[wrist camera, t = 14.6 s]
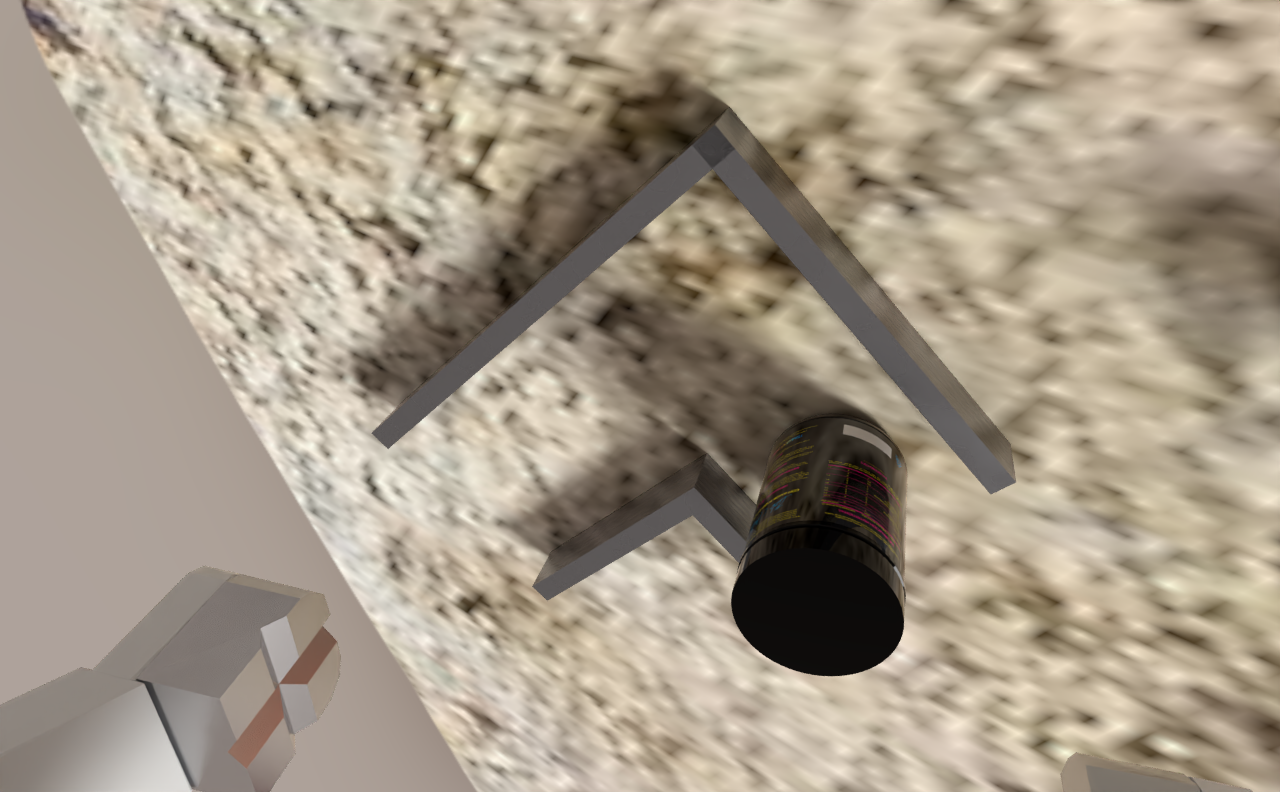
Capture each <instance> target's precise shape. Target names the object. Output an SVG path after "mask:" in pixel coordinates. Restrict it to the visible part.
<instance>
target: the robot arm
mask: <svg viewBox="0 0 1280 792" xmlns="http://www.w3.org/2000/svg"><path fill="white" fill-rule="evenodd" d="M329 616H330V612H329V609H328V606H327V603H326V599H325V596H324V595H323V594H320V593H316V592H312V591H308V590H304V589H300V588H296V587H292V586H288V585H284V584H280V583H275V582H271V581H267V580H263V579H259V578H255V577H251V576H247V575H242V574H238V573H234V572H229V571H224V570H220V569H216V568H211V567H207V566H203V567H200V568H198V569H196V570H194V571H192V572H189V573H188V574H187V575H186V576H185V577H184V578H183V579H182V580H181V581H180V582H179V583H178V584H177V585H176V586H175V587H174V588H173V589H172V590H171V591H170V592H169V593H168V594H167V595H166V596H165V597H164V598H163V599H162V600H161V601H160V602H159V603H158V604H157V605H156V606H155V607H154V608H153V609H152V610H151V611H150V612H149V613H148V614H147V615H146V616H145V617H144V618H143V619H142V620H141V621H140V622H139V623H138V624H137V625H136V626H135V627H134V628H133V629H132V630H131V631H130V632H129V633H128V634H127V635H126V636H125V637H124V638H123V639H122V640H121V641H120V642H119V643H118V644H117V645H116V647H115V648H114V649H113V650H112V651H111V652H110V653H109V654H108V655H107V656H106V657H105V658H104V659H103V660H102V661H101V662H100V663H99V664H98V665H97V666H96V667H95V668H94V669H93V670H91V669H86V668H79V669H77V670H74V671H72V672H70V673H68V674H66V675H64V676H61V677H59V678H57V679H55V680H53V681H51V682H48V683H46V684H44V685H42V686H40V687H38V688H36V689H33V690H31V691H29V692H27V693H25V694H22V695H20V696H18V697H16V698H14V699H12V700H10V701H7V702H5V703H3V704H1V705H0V792H193V791H192V789H194V790H199V791H202V792H270V791H271V789H272V788H273V786H274V785H275V783H276V782H277V780H278V779H279V778H280V776H281V775H282V773H283V772H284V770H285V769H286V767H287V765H288V764H289V763H290V761H291V760H292V758H293V757H294V755H295V734H296V733H298V732H299V731H301V730H303V729H305V728H306V727H308V726H310V725H311V724H313V723H315V722H317V721H318V719H319V718H320V716H321V715H322V713H323V712H324V710H325V708H326V707H327V705H328V703H329V702H330V701H331V699H332V696H333V693H334V690H335V687H336V684H337V681H338V679H339V675H340V661H341V656H340V651H339V647H338V643H337V641H336V640H335V639H334V638H333V636H332V635H331V634H330V633H329V632H328V631H327V630H326V629H325V628H324V627H323V624H324V623H325V621H326V620H327V619H328V617H329ZM1061 781H1062V787H1063V792H1252V790H1250V789H1246V788H1242V787H1237V786H1233V785H1228V784H1223V783H1218V782H1214V781H1209V780H1204V779H1199V778H1195V777H1187V776H1185V775H1184V774H1181V773H1176V772H1171V771H1166V770H1161V769H1156V768H1151V767H1146V766H1141V765H1136V764H1131V763H1126V762H1121V761H1116V760H1111V759H1106V758H1101V757H1096V756H1091V755H1086V754H1081V753H1075V754H1073V755H1072V756H1071V757H1069V758H1068V760H1067V762H1066V764H1065V766H1064V768H1063V770H1062V772H1061Z"/></svg>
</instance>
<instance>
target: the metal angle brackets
mask: <svg viewBox="0 0 1280 792" xmlns="http://www.w3.org/2000/svg"><path fill="white" fill-rule="evenodd" d="M712 169H713V170H714V171H715V172H716V174H717V175H718V176H719V177H720V178H721V179H722V181H723V182H724V183H725V184H726V185H727V186H728V188H729V189H730V190H731V191H732V192H733V193H734V195H735V196H736V197H737V198H738V199H739V200H740V202H741V203H742V204H743V205H744V206H745V207H746V209H747V210H748V211H749V212H750V213H751V215H752V216H753V217H754V218H755V219H756V220H757V222H758V223H759V224H760V225H761V226H762V227H763V229H764V230H765V231H766V232H767V233H768V234H769V236H770V237H771V238H772V239H773V240H774V241H775V243H776V244H777V245H778V246H779V247H780V248H781V250H782V251H783V252H784V253H785V254H786V255H787V257H788V258H789V259H790V260H791V261H792V262H793V264H794V265H795V266H796V267H797V268H798V269H799V271H800V272H801V273H802V274H803V275H804V277H805V278H806V279H807V280H808V281H809V282H810V284H811V285H812V286H813V287H814V288H815V289H816V291H817V292H818V293H819V294H820V295H821V296H822V298H823V299H824V300H825V301H826V302H827V303H828V305H829V306H830V307H831V308H832V309H833V310H834V312H835V313H836V314H837V315H838V316H839V317H840V319H841V320H842V321H843V322H844V323H845V324H846V326H847V327H848V328H849V329H850V330H851V331H852V333H853V334H854V335H855V336H856V337H857V339H858V340H859V341H860V342H861V343H862V344H863V346H864V347H865V348H866V349H867V350H868V351H869V353H870V354H871V355H872V356H873V357H874V358H875V360H876V361H877V362H878V363H879V364H880V365H881V367H882V368H883V369H884V370H885V371H886V372H887V374H888V375H889V376H890V377H891V378H892V379H893V381H894V382H895V383H896V384H897V385H898V386H899V388H900V389H901V390H902V391H903V392H904V394H905V395H906V396H907V397H908V398H909V399H910V401H911V402H912V403H913V404H914V405H915V406H916V408H917V409H918V410H919V411H920V412H921V413H922V415H923V416H924V417H925V418H926V419H927V420H928V422H929V423H930V424H931V425H932V426H933V427H934V429H935V430H936V431H937V432H938V433H939V434H940V436H941V437H942V438H943V439H944V440H945V441H946V443H947V444H948V445H949V446H950V447H951V448H952V450H953V451H954V452H955V453H956V454H957V456H958V457H959V458H960V459H961V460H962V461H963V463H964V464H965V465H966V466H967V467H968V468H969V470H970V471H971V472H972V473H973V474H974V475H975V477H976V478H977V479H978V480H979V481H980V482H981V484H982V485H983V486H984V487H985V488H986V489H987V491H988V492H989V493H990V494H993V493H995V492H997V491H999V490H1001V489H1003V488H1005V487H1007V486H1009V485H1011V484H1013V483H1016V478H1015V471H1014V465H1013V458H1012V451H1011V444H1010V443H1009V442H1008V441H1007V439H1006V438H1005V437H1004V436H1003V435H1002V433H1001V432H1000V431H999V430H998V428H997V427H996V426H995V425H994V424H993V422H992V421H991V420H990V419H989V418H988V416H987V415H986V414H985V413H984V412H983V410H982V409H981V408H980V407H979V406H978V404H977V403H976V402H975V401H974V400H973V398H972V397H971V396H970V395H969V394H968V392H967V391H966V390H965V389H964V388H963V386H962V385H961V384H960V383H959V382H958V380H957V379H956V378H955V377H954V376H953V374H952V373H951V372H950V371H949V370H948V368H947V367H946V366H945V365H944V364H943V362H942V361H941V360H940V359H939V358H938V356H937V355H936V354H935V353H934V352H933V350H932V349H931V348H930V347H929V346H928V344H927V343H926V342H925V341H924V340H923V338H922V337H921V336H920V335H919V334H918V332H917V331H916V330H915V329H914V328H913V326H912V325H911V324H910V323H909V322H908V320H907V319H906V318H905V317H904V316H903V314H902V313H901V312H900V311H899V310H898V308H897V307H896V306H895V305H894V304H893V302H892V301H891V300H890V299H889V298H888V296H887V295H886V294H885V293H884V292H883V290H882V289H881V288H880V287H879V286H878V284H877V283H876V282H875V281H874V280H873V278H872V277H871V276H870V275H869V274H868V272H867V271H866V270H865V269H864V268H863V266H862V265H861V264H860V263H859V262H858V260H857V259H856V258H855V257H854V256H853V254H852V253H851V252H850V251H849V250H848V248H847V247H846V246H845V245H844V244H843V242H842V241H841V240H840V239H839V238H838V236H837V235H836V234H835V233H834V232H833V230H832V229H831V228H830V227H829V226H828V224H827V223H826V222H825V221H824V220H823V218H822V217H821V216H820V215H819V214H818V212H817V211H816V210H815V209H814V208H813V206H812V205H811V204H810V203H809V202H808V200H807V199H806V198H805V197H804V196H803V194H802V193H801V192H800V191H799V190H798V188H797V187H796V186H795V185H794V184H793V182H792V181H791V180H790V179H789V178H788V176H787V175H786V174H785V173H784V172H783V170H782V169H781V168H780V167H779V166H778V164H777V163H776V162H775V161H774V160H773V158H772V157H771V156H770V155H769V154H768V152H767V151H766V150H765V149H764V148H763V146H762V145H761V144H760V143H759V142H758V140H757V139H756V138H755V137H754V136H753V134H752V133H751V132H750V131H749V130H748V128H747V127H746V126H745V125H744V124H743V122H742V121H741V120H740V119H739V118H738V116H737V115H736V114H735V113H734V112H733V110H732V109H731V108H730V107H729V108H728V109H727V110H725V111H724V112H723V113H722V114H721V115H720V116H719V117H718V118H717V119H715V120H714V121H713V122H712V123H711V124H710V125H709V126H708V127H707V128H705V129H704V130H703V131H702V132H701V133H700V134H699V135H698V136H697V137H695V138H694V139H693V140H692V141H691V142H690V143H689V144H688V145H687V146H686V147H684V148H683V149H682V150H681V151H680V152H679V153H678V154H677V155H676V156H674V157H673V158H672V159H671V160H670V161H669V162H668V163H667V164H666V165H664V166H663V167H662V168H661V169H660V170H659V171H658V172H657V173H656V174H654V175H653V176H652V177H651V178H650V179H649V180H648V181H647V182H646V183H644V184H643V185H642V186H641V187H640V188H639V189H638V190H637V191H636V192H635V193H633V194H632V195H631V196H630V197H629V198H628V199H627V200H626V201H625V202H623V203H622V204H621V205H620V206H619V207H618V208H617V209H616V210H615V211H613V212H612V213H611V214H610V215H609V216H608V217H607V218H606V219H605V220H603V221H602V222H601V223H600V224H599V225H598V226H597V227H596V228H595V229H594V230H592V231H591V232H590V233H589V234H588V235H587V236H586V237H585V238H584V239H582V240H581V241H580V242H579V243H578V244H577V245H576V246H575V247H574V248H572V249H571V250H570V251H569V252H568V253H567V254H566V255H565V256H564V257H562V258H561V259H560V260H559V261H558V262H557V263H556V264H555V265H554V266H552V267H551V268H550V269H549V270H548V271H547V272H546V273H545V274H544V275H543V276H541V277H540V278H539V279H538V280H537V281H536V282H535V283H534V284H533V285H531V286H530V287H529V288H528V289H527V290H526V291H525V292H524V293H523V294H521V295H520V296H519V297H518V298H517V299H516V300H515V301H514V302H513V303H511V304H510V305H509V306H508V307H507V308H506V309H505V310H504V311H503V312H501V313H500V314H499V315H498V316H497V317H496V318H495V319H494V320H493V321H492V322H490V323H489V324H488V325H487V326H486V327H485V328H484V329H483V330H482V331H480V332H479V333H478V334H477V335H476V336H475V337H474V338H473V339H472V340H470V341H469V342H468V343H467V344H466V345H465V346H464V347H463V348H462V349H460V350H459V351H458V352H457V353H456V354H455V355H454V356H453V357H452V358H451V359H449V360H448V361H447V362H446V363H445V364H444V365H443V366H442V367H441V368H439V369H438V370H437V371H436V372H435V373H434V374H433V375H432V376H431V377H429V378H428V379H427V380H426V381H425V382H424V383H423V384H422V385H421V386H419V387H418V388H417V389H416V390H415V391H414V392H413V393H412V394H411V395H409V396H408V397H407V398H406V399H405V400H404V401H403V402H402V403H401V404H400V405H399V406H398V407H397V408H396V409H395V410H394V411H393V412H392V413H391V414H390V415H389V416H388V417H387V418H386V419H385V420H384V421H383V422H382V423H381V424H380V425H379V426H378V427H377V428H376V429H375V430H374V431H373V432H372V434H373V435H374V436H375V437H376V438H377V439H378V440H379V441H380V442H381V443H382V444H383V445H385V446H386V447H387V448H388V449H389V448H390V447H391V446H392V445H393V444H394V443H396V442H397V441H398V440H399V439H400V438H401V437H402V436H404V435H405V434H406V433H407V432H408V431H409V430H411V429H412V428H413V427H414V426H415V425H416V424H418V423H419V422H420V421H421V420H422V419H423V418H424V417H426V416H427V415H428V414H429V413H430V412H431V411H433V410H434V409H435V408H436V407H437V406H438V405H440V404H441V403H442V402H443V401H444V400H445V399H446V398H448V397H449V396H450V395H451V394H452V393H453V392H455V391H456V390H457V389H458V388H459V387H460V386H461V385H463V384H464V383H465V382H466V381H467V380H468V379H470V378H471V377H472V376H473V375H474V374H475V373H477V372H478V371H479V370H480V369H481V368H482V367H483V366H485V365H486V364H487V363H488V362H489V361H490V360H492V359H493V358H494V357H495V356H496V355H497V354H499V353H500V352H501V351H502V350H503V349H504V348H505V347H507V346H508V345H509V344H510V343H511V342H512V341H514V340H515V339H516V338H517V337H518V336H519V335H521V334H522V333H523V332H524V331H525V330H526V329H527V328H529V327H530V326H531V325H532V324H533V323H534V322H536V321H537V320H538V319H539V318H540V317H541V316H543V315H544V314H545V313H546V312H547V311H548V310H549V309H551V308H552V307H553V306H554V305H555V304H556V303H558V302H559V301H560V300H561V299H562V298H563V297H565V296H566V295H567V294H568V293H569V292H570V291H571V290H573V289H574V288H575V287H576V286H577V285H578V284H580V283H581V282H582V281H583V280H584V279H585V278H587V277H588V276H589V275H590V274H591V273H592V272H593V271H595V270H596V269H597V268H598V267H599V266H600V265H602V264H603V263H604V262H605V261H606V260H607V259H608V258H610V257H611V256H612V255H613V254H614V253H615V252H617V251H618V250H619V249H620V248H621V247H622V246H624V245H625V244H626V243H627V242H628V241H629V240H630V239H632V238H633V237H634V236H635V235H636V234H637V233H639V232H640V231H641V230H642V229H643V228H644V227H646V226H647V225H648V224H649V223H650V222H651V221H652V220H654V219H655V218H656V217H657V216H658V215H659V214H661V213H662V212H663V211H664V210H665V209H666V208H668V207H669V206H670V205H671V204H672V203H673V202H674V201H676V200H677V199H678V198H679V197H680V196H681V195H683V194H684V193H685V192H686V191H687V190H688V189H690V188H691V187H692V186H693V185H694V184H695V183H696V182H698V181H699V180H700V179H701V178H702V177H703V176H705V175H706V174H707V173H708V172H709V171H710V170H712ZM755 508H756V505H755V504H754V503H753V502H752V500H751V499H750V498H749V497H748V496H747V495H746V494H745V493H744V492H743V491H742V490H741V489H740V488H739V487H738V486H737V485H736V483H735V482H734V481H733V480H732V479H731V478H730V477H729V476H728V475H727V474H726V473H725V472H724V471H723V470H722V469H721V468H720V466H719V465H718V464H717V463H716V462H715V461H714V460H713V459H712V458H711V457H710V456H709V455H708V454H705V455H703V456H702V457H700V458H699V459H697V460H695V461H694V462H692V463H691V464H689V465H688V466H686V467H684V468H683V469H681V470H680V471H678V472H676V473H675V474H673V475H672V476H670V477H669V478H667V479H665V480H664V481H662V482H661V483H659V484H658V485H656V486H654V487H653V488H651V489H650V490H648V491H646V492H645V493H643V494H642V495H640V496H639V497H637V498H635V499H634V500H632V501H631V502H629V503H628V504H626V505H624V506H623V507H621V508H620V509H618V510H616V511H615V512H613V513H612V514H610V515H609V516H607V517H605V518H604V519H602V520H601V521H599V522H598V523H596V524H594V525H593V526H591V527H590V528H588V529H586V530H585V531H583V532H582V533H580V534H579V535H577V536H575V537H574V538H572V539H571V540H569V541H567V542H566V543H564V544H563V545H561V546H560V547H558V548H556V549H555V550H553V551H552V552H551V553H550V555H549V557H548V559H547V561H546V562H545V564H544V566H543V568H542V570H541V572H540V573H539V575H538V577H537V579H536V581H535V582H534V584H533V586H532V587H534V588H535V589H536V590H537V591H538V592H539V593H540V594H541V595H542V596H543V597H544V598H545V599H546V600H549V599H551V598H553V597H554V596H556V595H558V594H559V593H561V592H563V591H564V590H566V589H568V588H570V587H571V586H573V585H575V584H576V583H578V582H580V581H581V580H583V579H585V578H587V577H588V576H590V575H592V574H593V573H595V572H597V571H598V570H600V569H602V568H603V567H605V566H607V565H609V564H610V563H612V562H614V561H615V560H617V559H619V558H620V557H622V556H624V555H626V554H627V553H629V552H631V551H632V550H634V549H636V548H637V547H639V546H641V545H643V544H644V543H646V542H648V541H649V540H651V539H653V538H654V537H656V536H658V535H660V534H661V533H663V532H665V531H666V530H668V529H670V528H671V527H673V526H675V525H677V524H678V523H680V522H682V521H683V520H685V519H687V518H688V517H690V516H692V515H693V516H694V517H695V518H696V519H697V520H698V521H699V522H700V523H701V524H702V525H703V526H704V527H705V528H706V529H707V530H708V531H709V532H710V533H711V535H712V536H713V537H714V538H715V539H716V540H717V541H718V542H719V543H720V544H721V545H722V546H723V547H724V548H725V549H726V550H727V551H728V552H729V553H730V554H731V555H732V556H733V557H734V558H735V559H736V560H737V561H738V562H740V559H741V557H742V555H743V553H744V549H745V546H746V542H747V538H748V534H749V531H750V527H751V523H752V519H753V515H754V512H755Z"/></svg>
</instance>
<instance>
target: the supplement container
mask: <svg viewBox="0 0 1280 792" xmlns="http://www.w3.org/2000/svg"><path fill="white" fill-rule="evenodd" d="M906 506H907V468H906V463H905V460H904V458H903V455H902V453H901V452H900V450H899V448H898V447H897V445H896V444H895V443H894V442H893V440H892V439H891V438H890V437H889V436H888V435H887V434H886V433H885V432H883V431H882V430H881V429H879V428H878V427H876V426H875V425H873V424H871V423H869V422H867V421H865V420H862V419H859V418H856V417H852V416H848V415H841V414H825V415H818V416H813V417H810V418H807V419H804V420H802V421H800V422H798V423H796V424H794V425H793V426H791V427H790V428H789V429H787V430H786V431H785V432H784V433H783V434H782V435H781V436H780V437H779V438H778V439H777V441H776V442H775V444H774V446H773V447H772V450H771V452H770V455H769V459H768V463H767V467H766V470H765V474H764V478H763V482H762V485H761V489H760V493H759V497H758V500H757V504H756V508H755V512H754V515H753V519H752V523H751V527H750V531H749V534H748V538H747V542H746V546H745V549H744V553H743V555H742V557H741V559H740V562H739V566H738V571H737V577H736V580H735V584H734V588H733V592H732V598H731V606H732V613H733V616H734V619H735V622H736V624H737V626H738V628H739V630H740V631H741V633H742V634H743V636H744V637H745V638H746V639H747V641H748V642H749V643H750V644H751V645H752V646H753V647H754V648H755V649H757V650H758V651H759V652H760V653H762V654H763V655H764V656H766V657H767V658H769V659H771V660H772V661H774V662H776V663H778V664H780V665H782V666H784V667H787V668H789V669H792V670H795V671H798V672H802V673H806V674H812V675H819V676H843V675H850V674H856V673H859V672H863V671H865V670H868V669H870V668H872V667H874V666H876V665H878V664H880V663H881V662H883V661H884V660H885V659H886V658H888V657H889V656H890V655H891V654H892V653H893V651H894V650H895V649H896V647H897V646H898V644H899V642H900V640H901V637H902V634H903V629H904V606H905V597H906V591H905V584H904V575H905V541H906Z"/></svg>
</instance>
